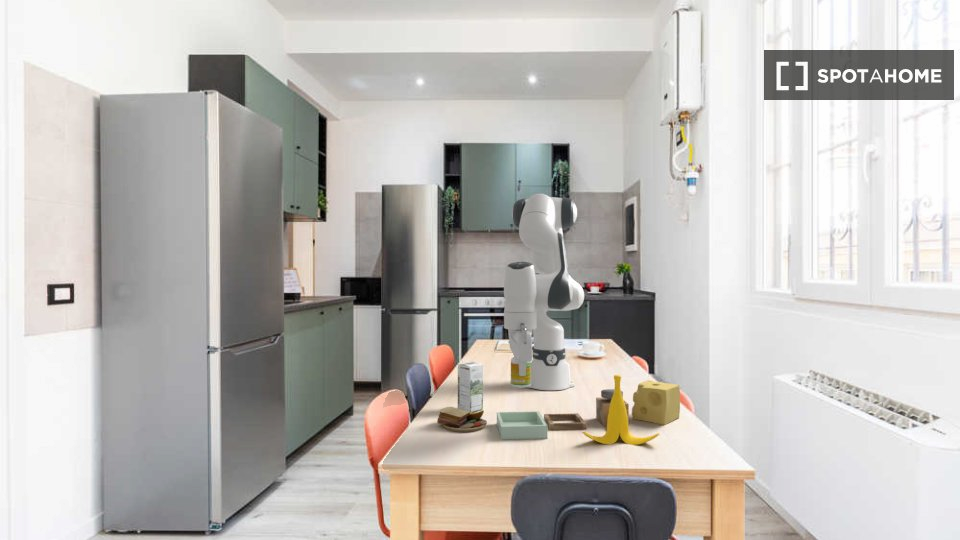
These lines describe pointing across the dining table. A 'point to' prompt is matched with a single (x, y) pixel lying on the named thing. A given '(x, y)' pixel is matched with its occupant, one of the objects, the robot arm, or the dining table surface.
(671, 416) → the cheese
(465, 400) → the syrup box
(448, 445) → the dining table surface
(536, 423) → the tray
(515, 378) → the supplement bottle
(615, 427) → the banana peel
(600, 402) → the tan square block
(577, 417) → the brown wooden frame
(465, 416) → the toy sandwich meal
